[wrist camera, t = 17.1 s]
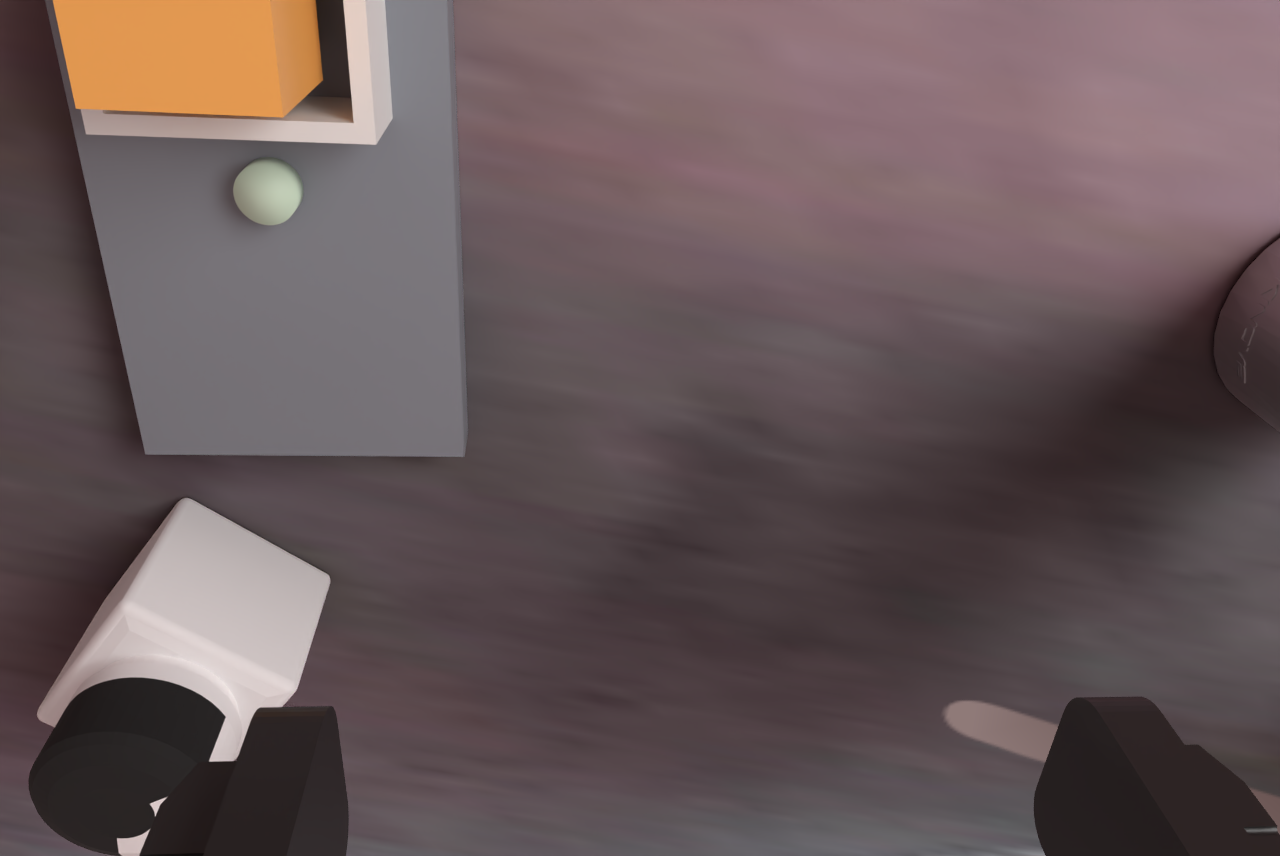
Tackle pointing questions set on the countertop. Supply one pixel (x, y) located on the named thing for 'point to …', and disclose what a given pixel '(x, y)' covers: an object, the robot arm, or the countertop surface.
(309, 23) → the orange cube
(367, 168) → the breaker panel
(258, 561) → the medicine bottle
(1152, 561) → the countertop surface
